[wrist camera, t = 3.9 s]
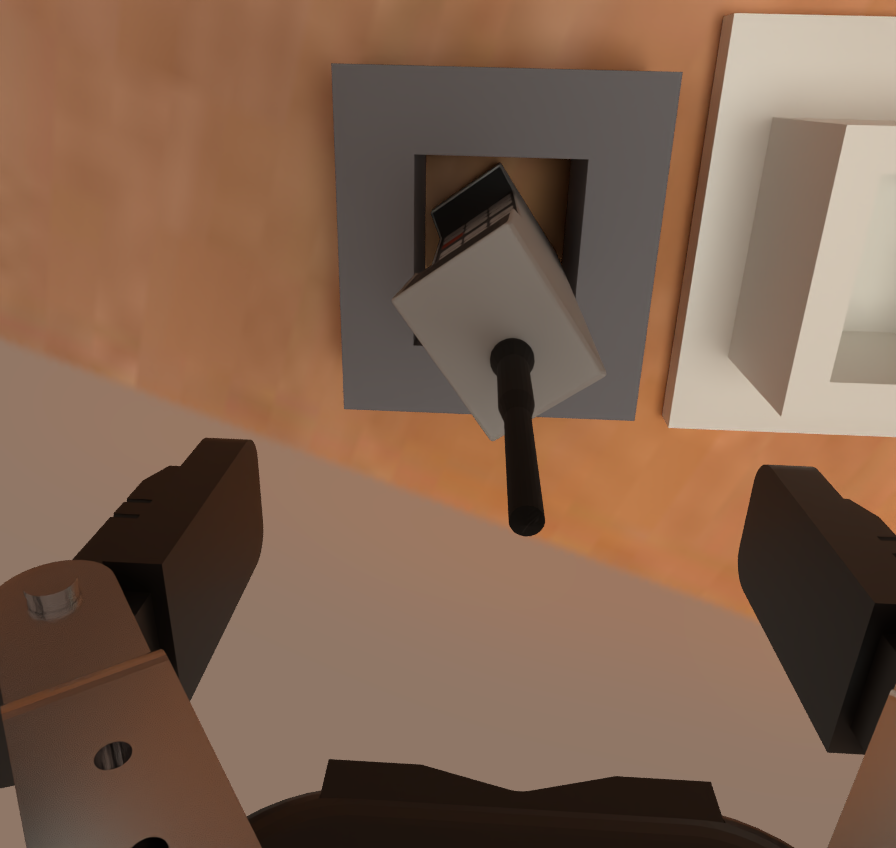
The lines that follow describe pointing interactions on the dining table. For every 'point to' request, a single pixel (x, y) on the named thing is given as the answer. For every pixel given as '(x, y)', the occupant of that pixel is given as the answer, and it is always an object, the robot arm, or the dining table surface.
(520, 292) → the vintage mobile phone
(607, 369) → the holster
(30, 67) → the dining table surface
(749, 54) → the charging dock
